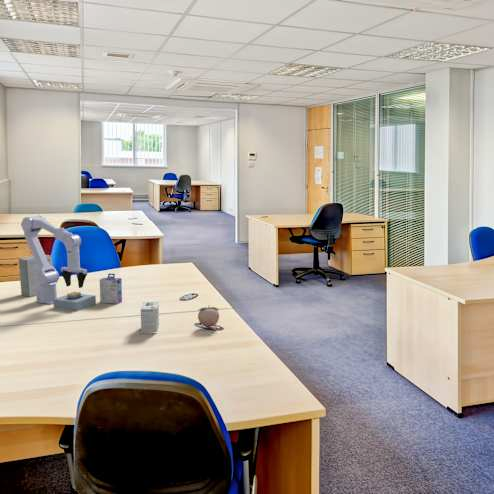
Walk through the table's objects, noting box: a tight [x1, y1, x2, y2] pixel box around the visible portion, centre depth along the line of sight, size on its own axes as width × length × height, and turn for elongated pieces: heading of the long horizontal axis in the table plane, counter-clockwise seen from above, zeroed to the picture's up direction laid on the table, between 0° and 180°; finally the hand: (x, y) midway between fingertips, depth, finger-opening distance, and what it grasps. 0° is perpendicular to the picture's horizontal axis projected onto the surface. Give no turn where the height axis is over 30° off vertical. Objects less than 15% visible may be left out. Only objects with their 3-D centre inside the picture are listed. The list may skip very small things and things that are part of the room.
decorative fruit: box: [197, 306, 220, 328], centre depth 222 cm, size 9×8×10 cm
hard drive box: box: [18, 254, 54, 298], centre depth 278 cm, size 16×8×20 cm, turn 144°
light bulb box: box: [140, 301, 160, 334], centre depth 219 cm, size 11×7×11 cm, turn 5°
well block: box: [53, 293, 97, 312], centre depth 255 cm, size 14×14×4 cm
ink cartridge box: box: [99, 273, 123, 305], centre depth 262 cm, size 10×6×14 cm, turn 79°
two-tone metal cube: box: [66, 291, 82, 300], centre depth 255 cm, size 4×5×6 cm
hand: (74, 286), depth 255 cm, fingers open, 7 cm apart
